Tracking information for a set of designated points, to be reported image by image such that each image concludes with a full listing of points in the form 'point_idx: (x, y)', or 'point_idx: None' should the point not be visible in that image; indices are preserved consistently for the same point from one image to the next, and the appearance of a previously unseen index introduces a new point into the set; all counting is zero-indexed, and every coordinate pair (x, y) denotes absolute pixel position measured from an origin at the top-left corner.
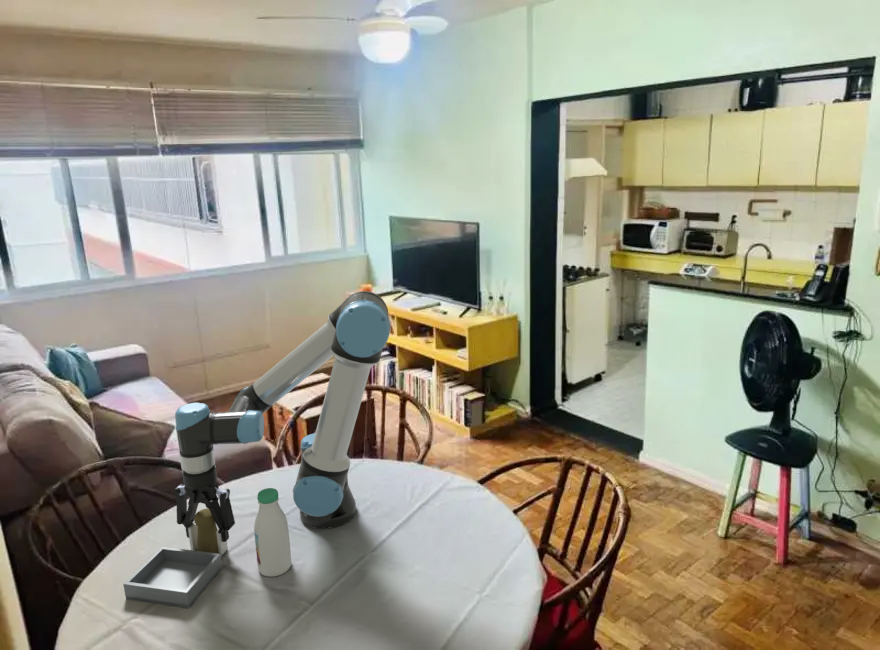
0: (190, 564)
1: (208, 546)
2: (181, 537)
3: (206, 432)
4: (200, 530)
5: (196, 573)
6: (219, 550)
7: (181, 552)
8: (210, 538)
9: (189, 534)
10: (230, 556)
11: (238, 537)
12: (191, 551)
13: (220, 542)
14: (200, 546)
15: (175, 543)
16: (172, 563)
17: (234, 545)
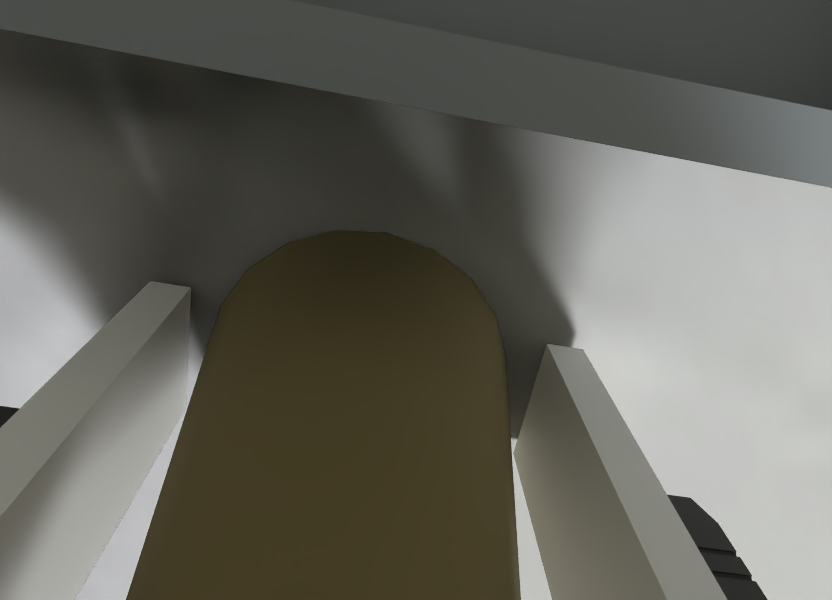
0: (481, 27)
1: (277, 327)
2: (759, 563)
3: None
4: (394, 589)
5: None
6: (154, 315)
7: (693, 86)
8: (209, 436)
9: (672, 527)
10: (37, 269)
11: None
12: (476, 73)
13: (49, 383)
14: (415, 328)
15: (803, 480)
16: (770, 51)
17: None
